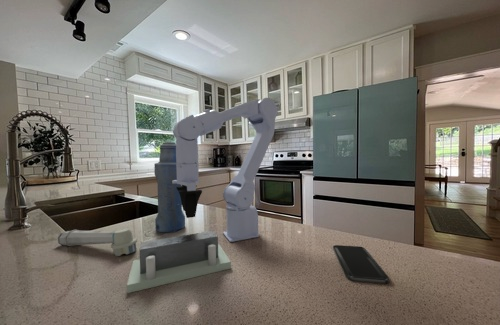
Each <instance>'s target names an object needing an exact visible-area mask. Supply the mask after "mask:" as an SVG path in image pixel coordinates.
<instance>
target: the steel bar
mask: <svg viewBox="0 0 500 325" xmlns="http://www.w3.org/2000/svg"><path fill="white" fill-rule="evenodd" d="M201 232H202V233H201ZM201 232H197V233H196V232H195V233H191V234H183V235H177V236H172V237H171V236H170V237H165V238H158V239H151V240H152V241H150V240H147V241H141V242H140V246H139V259H140V274H144V273H146V258H147V257H148V256H155V271H158V270H163V269H168V268H172V267H177V266H182V265H186V264H191V263H196V262H200V261H205V260H208V246H209V245H212V244H213V245H216V258H218V244H219V236H218V235H217V233H216V231H215V230H209V231H201Z"/></svg>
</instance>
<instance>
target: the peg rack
mask: <svg viewBox="0 0 500 325" xmlns="http://www.w3.org/2000/svg"><path fill="white" fill-rule="evenodd" d="M202 232H203V231H201V232H200V233H202ZM152 240H153V239H150V240H149V241H152ZM229 269H232V262H231V260H230V259H229V256H228V255H227V254H226V253H225V251H224V249H223V248H222V246H221V245H220V244H219V243H218V258H216V245H213V244H212V245H209V246H208V260H205V261H200V262H196V263H191V264H186V265H182V266H177V267H172V268H168V269H163V270H158V271H155V256H148V257H147V258H146V273H144V274H140V258H139V259H135V260H132V264H131V267H130V272H129V275H128V279H127V282H126V294H131V293H134V292H139V291H142V290H147V289H150V288H155V287H160V286H162V285H167V284H171V283H175V282H176V283H177V282H180V281H183V280H188V279H192V278H197V277H200V276H204V275H209V274H213V273H217V272H221V271H226V270H229Z"/></svg>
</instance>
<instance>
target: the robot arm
mask: <svg viewBox="0 0 500 325" xmlns="http://www.w3.org/2000/svg"><path fill="white" fill-rule="evenodd" d="M278 114H279V111H278V108H277V105H276V102H275V101H274V100H273V99H271V98H270V97H264V98H261V99H259V98H258V99H253V100H250V101H247V102H243V103H241V104H238V105H236V106H234V107H230V108H227V109H225V110H223V111H220V112H219V111H218V110H217V109H210V108H207V109H205V110H203V112H202V113H199V114H195V115H194V114H190V115H188V116H186V117H185V118H183V119H180V121H178V122H177V123H176V124H175V125H174V128H173V130H172V133H173V135H174V138H175V143H176V167H177V180H173V181H172V183H173V184H180V185H181V186H176V188H177V190H178V192H179V194H180V198H181V203H182V211H183V212H184V215H185V218H187V219H188V218H190V219H191V218H196V213H197V209H198V202H199V200H200V197H201V195H202V194H203V193H202V192H203V190H202V189H197V185H198V184H199V183H200V180H201V179H200V178H199V177H200V176H199V175H200V174H199V145H198V138H199V137H202V136H204V135H207V134H210V133H212V132H215V131H217V130H220V129H222V127H223V124H224V123H225V122H228V121H231V120H234V119H238V118H240V117H242V118H243V119H247V120H248V121H249V122H250V125H251V126H252V127H253V129H254V130H255V132H256V134H255V136H254V139H253V140H252V142H251V144H250V147H249V149H248V151H247V153H246V154H245V157H244V160H243V162H242V164H241V166H240V169H239V171H238V173H237V174H236V175H235V176H234V177H233V178H231V180H230V183H228V185H227V186H226V187H225V188H224V189H223V192H222V198H223V200H224V202H225V203H226V208H225V211H226V230H224V231H223V232H222V234H223V235H224V236H225V238H226V239H227V240H228V241H229V242H231V243H232V242H238V241H239V242H240V241H244V240H249V239H255V238H259V237H260V234H259V215H258V214H259V212H258V210H257V208H256V206H255V205H252V204H253V202H254V197H255V196H254V195H255V191H256V186H255V183H254V181H255V178H256V176H257V173H258V172H259V169H260V167H261V164H262V162H263V161H264V158H265V156H266V153H267V151H268V149H269V147H270V144H271V142H272V140H273V137H274V134H275V125H276V119H277V116H278Z"/></svg>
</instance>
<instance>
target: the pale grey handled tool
mask: <svg viewBox="0 0 500 325" xmlns="http://www.w3.org/2000/svg"><path fill="white" fill-rule="evenodd" d="M137 242H138V238H136V237H134V236H133V232H132V230H131V229H130V228H123V229H118V230H116V231H115V230H79V229H73V230H67V231H64V232H61V233H60V235H59V236H58V237H57V243H58V244H59V245H61V246H69V247H74V246H84V245H85V246H86V245H88V246H89V245H102V244H103V245H105V244H106V245H107V244H110V249H112V250H113V255H115V256H116V257H121V256H122V255H124V254H125V255H129V254H132V253H134V252H136V251H137V244H136V243H137Z"/></svg>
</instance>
